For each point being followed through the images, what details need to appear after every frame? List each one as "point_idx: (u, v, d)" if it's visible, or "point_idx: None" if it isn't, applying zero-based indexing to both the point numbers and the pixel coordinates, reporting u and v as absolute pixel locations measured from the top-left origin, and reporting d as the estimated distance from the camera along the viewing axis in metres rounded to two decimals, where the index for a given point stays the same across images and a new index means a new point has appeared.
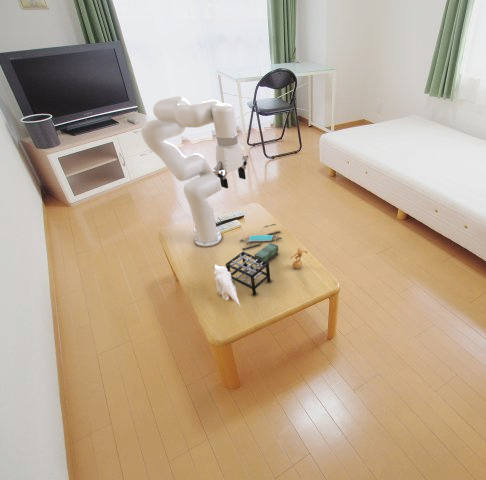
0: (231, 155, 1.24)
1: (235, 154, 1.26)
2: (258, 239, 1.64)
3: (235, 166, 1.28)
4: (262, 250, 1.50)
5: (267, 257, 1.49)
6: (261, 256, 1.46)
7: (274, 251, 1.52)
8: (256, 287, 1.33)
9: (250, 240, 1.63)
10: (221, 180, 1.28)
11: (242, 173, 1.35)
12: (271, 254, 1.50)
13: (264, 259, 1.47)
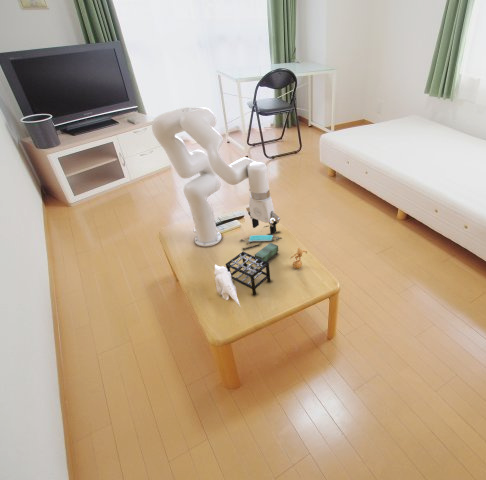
0: None
1: None
2: (258, 239, 1.64)
3: None
4: (262, 250, 1.50)
5: (267, 257, 1.49)
6: (261, 256, 1.46)
7: (274, 251, 1.52)
8: (256, 287, 1.33)
9: (250, 240, 1.63)
10: (274, 227, 1.39)
11: (257, 220, 1.45)
12: (271, 254, 1.50)
13: (264, 259, 1.47)
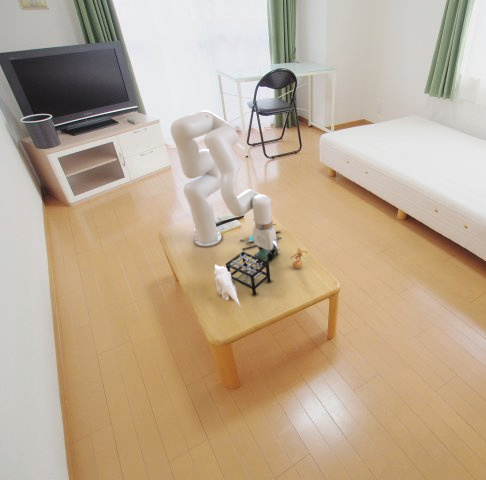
0: None
1: None
2: None
3: None
4: (262, 250, 1.50)
5: (267, 257, 1.49)
6: (261, 256, 1.46)
7: None
8: (256, 287, 1.33)
9: (250, 240, 1.63)
10: (272, 254, 1.49)
11: None
12: None
13: (264, 259, 1.47)
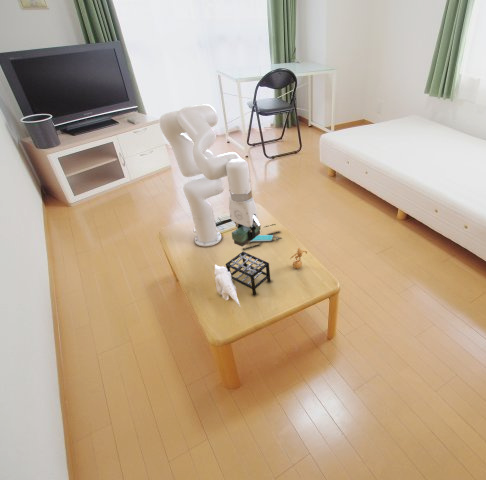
0: None
1: None
2: (258, 239, 1.64)
3: None
4: (240, 228, 1.27)
5: (247, 236, 1.26)
6: (239, 234, 1.24)
7: (255, 229, 1.29)
8: (256, 287, 1.33)
9: None
10: (253, 232, 1.26)
11: None
12: None
13: (243, 238, 1.24)
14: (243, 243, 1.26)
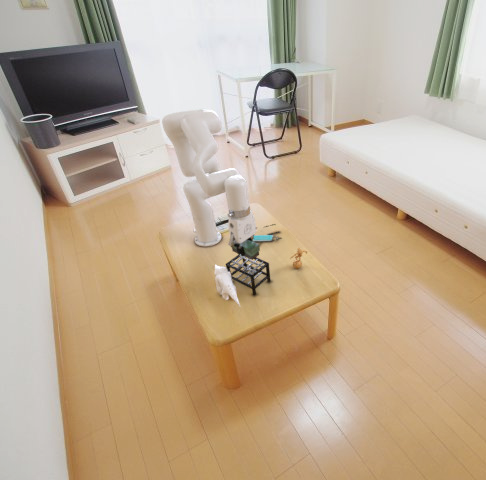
0: None
1: None
2: (258, 239, 1.64)
3: None
4: (244, 245, 1.27)
5: None
6: (255, 244, 1.27)
7: None
8: (256, 287, 1.33)
9: None
10: None
11: None
12: None
13: None
14: None
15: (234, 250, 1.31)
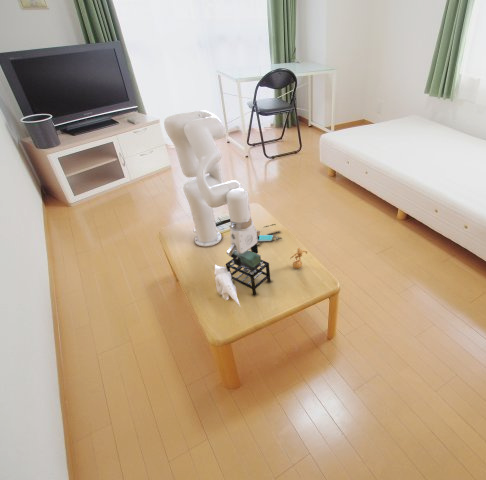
0: None
1: None
2: None
3: None
4: (245, 256, 1.30)
5: None
6: (257, 256, 1.30)
7: None
8: (256, 287, 1.33)
9: None
10: None
11: None
12: None
13: None
14: None
15: None
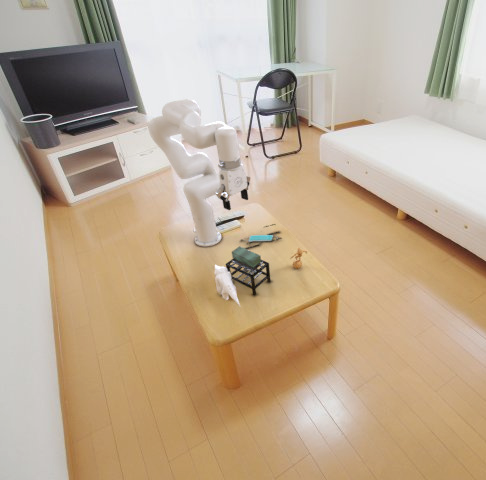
0: None
1: None
2: (258, 239, 1.64)
3: None
4: (245, 256, 1.30)
5: None
6: (257, 256, 1.30)
7: None
8: (256, 287, 1.33)
9: (250, 240, 1.63)
10: None
11: None
12: None
13: None
14: None
15: (236, 261, 1.34)
